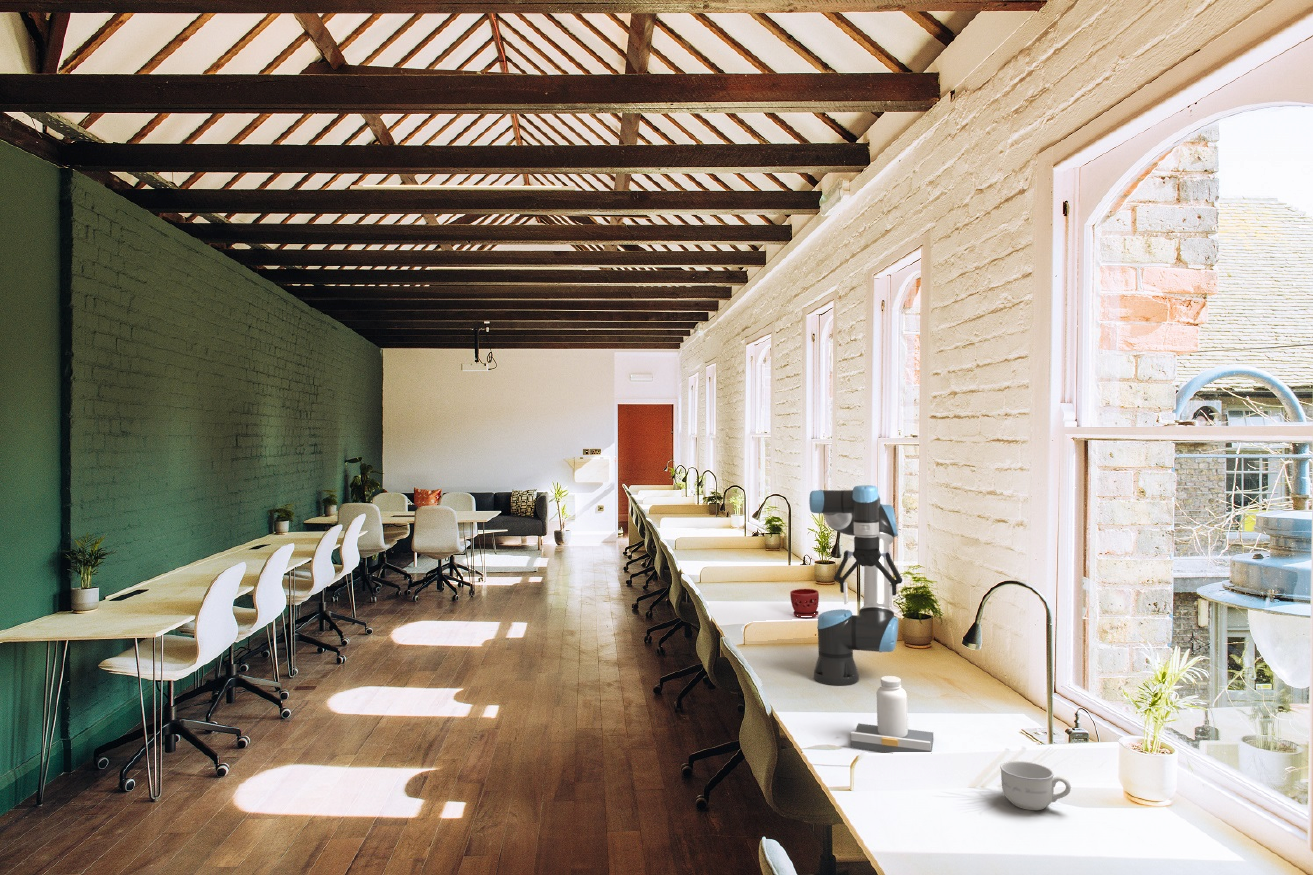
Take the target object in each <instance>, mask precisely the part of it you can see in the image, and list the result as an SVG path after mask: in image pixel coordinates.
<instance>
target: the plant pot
mask: <svg viewBox="0 0 1313 875" xmlns="http://www.w3.org/2000/svg"><path fill="white" fill-rule="evenodd" d="M819 593H820V592H819V590H817V589H813V588H798V589H792V590H791V591H790V593H789V594H790V595H789V596H790V602H791V606H792V609H793V610H794V611H793V615H794V616H795V617H797V618H800V619H811V618H816V617H817V616H818V615H819V611H818V608H819V602H820V601H819V600H820V595H819ZM814 613H815V614H814ZM796 615H798V616H796ZM816 615H817V616H816ZM801 616H812V617H801Z"/></svg>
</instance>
